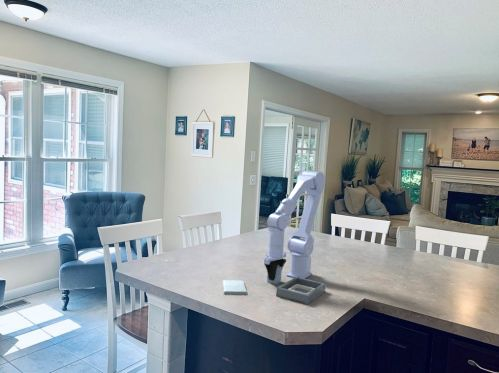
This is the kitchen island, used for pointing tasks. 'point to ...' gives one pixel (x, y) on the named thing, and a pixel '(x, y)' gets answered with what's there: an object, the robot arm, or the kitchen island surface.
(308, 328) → the kitchen island surface
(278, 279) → the plug
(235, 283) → the hard drive
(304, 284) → the dock
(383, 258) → the kitchen island surface
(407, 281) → the kitchen island surface
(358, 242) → the kitchen island surface
